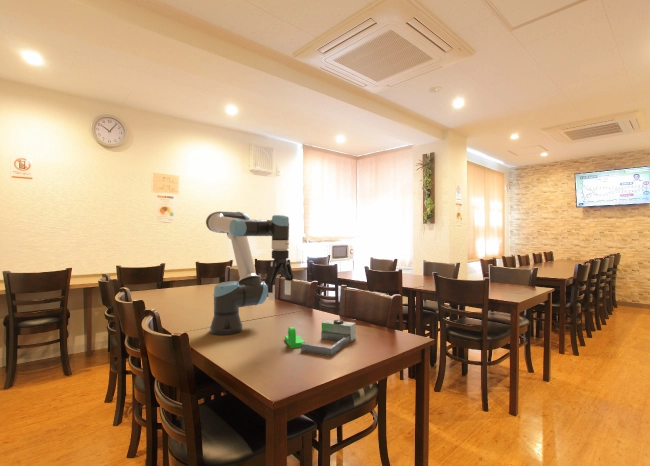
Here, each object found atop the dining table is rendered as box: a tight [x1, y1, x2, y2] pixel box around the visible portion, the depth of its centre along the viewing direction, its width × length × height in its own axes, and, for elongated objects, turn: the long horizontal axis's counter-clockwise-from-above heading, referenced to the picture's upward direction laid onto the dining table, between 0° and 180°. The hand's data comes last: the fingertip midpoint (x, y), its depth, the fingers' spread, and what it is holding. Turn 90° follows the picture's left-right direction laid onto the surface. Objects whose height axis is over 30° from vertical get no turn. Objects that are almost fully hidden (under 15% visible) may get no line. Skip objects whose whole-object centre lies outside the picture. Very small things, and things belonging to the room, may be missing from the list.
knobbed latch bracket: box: [300, 319, 357, 357], centre depth 144 cm, size 14×25×8 cm, turn 154°
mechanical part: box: [284, 326, 306, 349], centre depth 147 cm, size 12×6×8 cm, turn 19°
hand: (279, 297), depth 152 cm, fingers open, 13 cm apart
